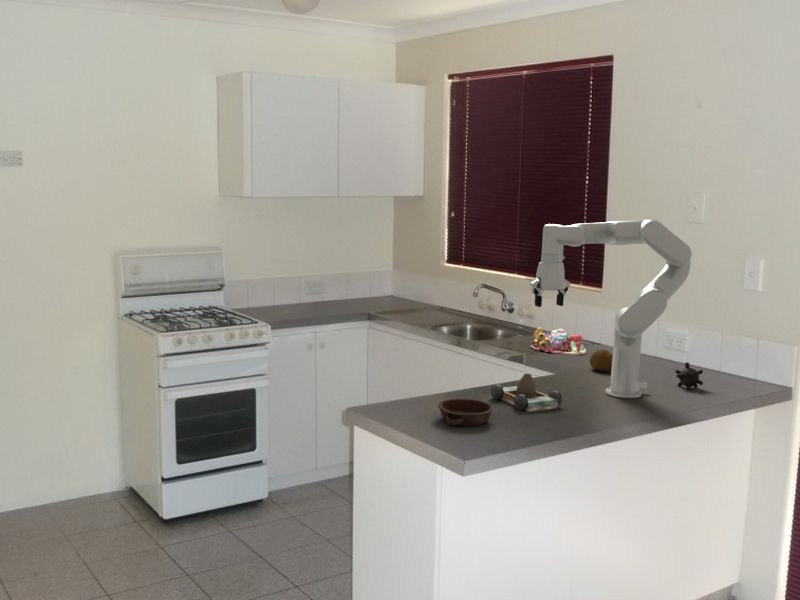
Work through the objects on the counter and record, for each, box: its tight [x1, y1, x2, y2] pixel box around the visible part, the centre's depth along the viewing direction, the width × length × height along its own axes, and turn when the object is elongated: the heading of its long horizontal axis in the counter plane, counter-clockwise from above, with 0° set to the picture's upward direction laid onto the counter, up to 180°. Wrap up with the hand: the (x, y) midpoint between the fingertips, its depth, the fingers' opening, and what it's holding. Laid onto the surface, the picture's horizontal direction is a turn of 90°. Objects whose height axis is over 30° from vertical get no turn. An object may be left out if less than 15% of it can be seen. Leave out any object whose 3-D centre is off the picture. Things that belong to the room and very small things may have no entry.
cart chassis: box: [490, 384, 563, 413], centre depth 297 cm, size 16×20×5 cm
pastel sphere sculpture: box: [530, 327, 587, 356], centre depth 391 cm, size 25×24×9 cm
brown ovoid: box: [516, 373, 538, 398], centre depth 297 cm, size 7×7×9 cm
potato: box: [589, 349, 613, 373], centre depth 349 cm, size 8×12×9 cm
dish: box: [437, 398, 495, 427], centre depth 273 cm, size 18×22×5 cm
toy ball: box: [674, 361, 704, 391], centre depth 326 cm, size 10×10×11 cm
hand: (548, 305), depth 315 cm, fingers open, 9 cm apart
